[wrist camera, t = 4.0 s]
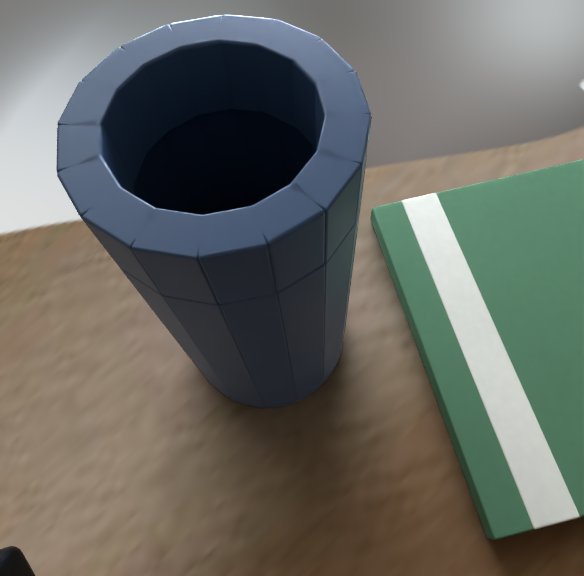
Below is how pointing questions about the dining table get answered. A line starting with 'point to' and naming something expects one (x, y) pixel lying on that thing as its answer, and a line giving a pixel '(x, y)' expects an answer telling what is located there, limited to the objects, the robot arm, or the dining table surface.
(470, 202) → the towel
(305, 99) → the jar
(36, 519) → the dining table surface
